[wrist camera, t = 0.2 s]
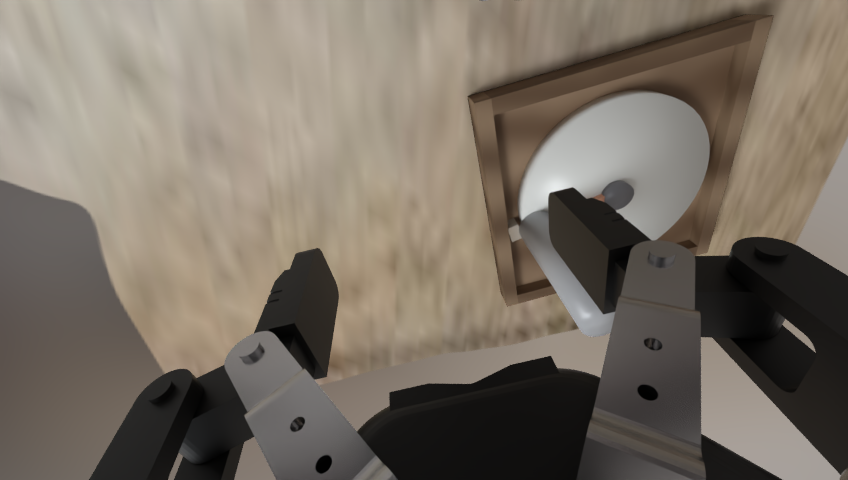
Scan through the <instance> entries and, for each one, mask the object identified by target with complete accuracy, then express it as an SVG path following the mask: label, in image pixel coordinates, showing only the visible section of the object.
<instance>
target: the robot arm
mask: <svg viewBox="0 0 848 480" xmlns="http://www.w3.org/2000/svg"><path fill="white" fill-rule="evenodd" d="M548 215H549V236H550V240H551V243H552V245H553V247H554V249H555V250H556V252H557V253H558V254H559V256H560V257H561V258H562V260H563V261H564V262H565V264H566V265H567V266H568V268H569V269H570V271H571V272H572V273H573V275H574V276H575V277H576V279H577V280H578V281H579V283H580V284H581V285H582V287H583V288H584V289H585V291H586V292H587V293H588V295H589V296H590V297H591V299H592V300H593V301H594V303H595V304H596V305H597V307H598V308H599V309H600V311H601V312H602V313H603V314H608V313H612V312H615V315H614V320H613V324H612V329H611V333H610V338H609V343H608V347H607V351H606V356H605V361H604V365H603V370H602V374H601V378H600V377H597V376H595V375H592V374H589V373H585V372H581V371H577V370H571V369H560V368H559V369H558V368H557V367H556V365H555V363H554V361H553V359H552V357H551V356H548V357H544V358H540V359H535V360H531V361H526V362H522V363H518V364H513V365H510V366H508V367H506V368H504V369H502V370H500V371H498V372H496V373H494V374H492V375H490V376H488V377H486V378H484V379H482V380H479V381H477V382H475V383H472V384H425V385H420V386H416V387H412V388H407V389H402V390H398V391H394V392H390V406H389V407H387V408H385V409H384V410H382V411H380V412H379V413H377V414H376V415H374V416H373V417H372V418H371V419H369V420H368V421H367V422H366V423H365V424H364V425H363V426H362V427H361V428H360V429H359V430H358V431H356V430H355V429H354V428H353V427H352V426H351V424H350V423H349V422H348V421H347V419H346V418H345V417H344V416H343V415H342V413H341V412H340V411H339V410H338V408H337V407H336V406H335V405H334V403H333V402H332V401H331V400H330V398H329V397H328V396H327V395H326V394H325V392H324V391H323V390H322V389H321V388H320V386H319V385H318V384H317V383H316V381H315V379H319V378H324V377H327V371H328V365H329V358H330V352H331V345H332V339H333V332H334V326H335V319H336V313H337V306H338V299H339V294H338V288H337V284H336V281H335V279H334V277H333V275H332V273H331V271H330V268H329V266H328V264H327V262H326V260H325V258H324V256H323V253H322V252H321V250H320V249H319V248H316V249H312V250H308V251H303V252H299V253H296V254H295V257H294V260H293V262H292V265H291V268H290V269H289V270H285V271H284V272H283V273H282V274H281V275H280V276H279V278H278V279H277V280H276V281H275V283H274V285H273V288H272V290H271V295H269V297H268V300H267V304H266V305H265V307H264V310H263V312H262V315H261V317H260V320H259V322H258V325H257V327H256V330H255V332H254V334H251V335H249V336H247V337H246V338H244V339H243V340H241V341H240V342H239V343H237V344H236V345H235V346H234V347H233V348H232V349H231V351H230V352H229V353H228V355H227V357H226V359H225V363H224V365H223V366H221V367H219V368H217V369H215V370H213V371H211V372H209V373H207V374H204V375H202V376H200V377H198V378H196V377H195V376H194V375H193V374H192V373H191V372H190V371H189V370H187V369H177V370H174V371H171V372H168V373H166V374H164V375H162V376H161V377H159V378H158V379H156V380H155V381H153V382H152V383H151V384H150V385H149V386H147V387H146V388H145V389H144V390H143V392H142V393H141V394H140V395H139V396H138V398H137V399H136V401H135V402H134V404H133V406H132V408H131V409H130V411H129V413H128V415H127V416H126V418H125V420H124V421H123V423H122V425H121V426H120V428H119V430H118V431H117V433H116V435H115V436H114V438H113V440H112V442H111V443H110V445H109V447H108V448H107V450H106V452H105V454H104V455H103V457H102V459H101V460H100V462H99V464H98V465H97V467H96V469H95V471H94V472H93V474H92V476H91V477H90V479H89V480H168V477H169V474H170V472H171V469H172V467H173V465H174V462H175V460H176V457H177V455H178V453H180V454H181V455H183V458H182V461H181V464H180V466H179V468H178V471H177V473H176V476H175V479H174V480H234V477H235V474H236V470H237V466H238V463H239V459H240V455H241V452H242V448H243V444H244V442H245V441H247V440H249V439H251V438H252V437H255V439H256V440H257V442H258V445H259V446H260V448H261V450H262V452H263V454H264V456H265V458H266V460H267V462H268V464H269V466H270V468H271V470H272V472H273V474H274V476H275V478H276V480H782V479H780V478H779V477H777V476H775V475H773V474H771V473H770V472H768V471H766V470H764V469H763V468H761V467H759V466H757V465H755V464H754V463H752V462H750V461H748V460H747V459H745V458H743V457H741V456H739V455H738V454H736V453H734V452H733V451H731V450H729V449H727V448H725V447H724V446H722V445H720V444H718V443H717V442H715V441H713V440H711V439H709V438H708V437H706V436H704V435H702V434H701V337H712V338H713V339H714V340H715V341H716V342H717V343H718V344H719V345H720V346H721V347H722V348H723V349H724V351H725V352H726V353H727V354H728V355H729V356H730V357H731V358H732V359H733V360H734V361H735V362H736V363H737V364H738V366H739V367H740V368H741V369H742V370H743V371H744V372H745V373H746V374H747V375H748V376H749V377H750V378H751V379H752V381H753V382H754V383H755V384H757V386H758V387H759V388H760V389H761V390H762V391H763V392H764V393H765V394H766V395H767V397H768V398H769V399H770V400H771V401H772V402H773V403H774V404H775V405H776V406H777V407H778V408H779V409H780V410H781V412H782V413H783V414H784V415H785V416H786V417H787V418H788V419H789V420H790V421H791V422H792V423H793V424H794V425H795V427H796V428H797V429H798V430H799V431H800V432H801V433H802V434H803V435H804V436H805V437H806V438H807V439H808V440H809V441H810V443H812V445H813V446H814V447H815V448H816V449H817V450H818V451H819V452H820V453H821V454H822V455H823V456H824V457H825V459H826V460H827V461H828V462H829V463H830V464H831V465H832V466H833V467H834V468H835V469H836V470H837V471H838V473H839V474H840V475H841V477H840V480H848V276H847V275H846V274H844V273H842V272H841V271H839V270H837V269H836V268H834V267H832V266H831V265H829V264H827V263H826V262H824V261H822V260H821V259H819V258H817V257H815V256H814V255H812V254H811V253H809V252H807V251H805V250H804V249H802V248H801V247H799V246H796V245H794V244H792V243H789V242H786V241H783V240H779V239H774V238H767V237H750V238H744V239H741V240H739V241H737V242H735V243H734V244H733V246H732V249H731V252H730V255H729V256H694V255H693V254H692V252H691V251H689V250H688V249H687V248H685V247H683V246H681V245H679V244H676V243H673V242H669V241H661V240H651V239H650V238H648V237H647V236H646V235H645V234H643V233H642V232H641V231H640V230H639V229H637V228H636V227H635V226H634V225H633V224H631V223H630V222H629V221H628V220H627V219H626V220H625V219H624V217H623V216H622V215H621V214H619V213H617V212H616V210H614V209H613V208H612V207H611V206H610V205H608V204H607V203H605V202H603V201H600V200H597V199H595V198H588V199H586V198H585V197H584V196H583V195H582V194H581V193H580V192H578V191H577V190H576V189H575V188H573V187H571V188H567V189H563V190H559V191H555V192H551V193H550V194H549V196H548ZM785 319H787V320H788V321H789V322H790V323H792V324H793V325H794V326H795V327H797V328H798V329H799V330H800V331H801V332H803V333H804V334H805V335H806V336H807V337H808V338H809V339H810V341H811V342H812V343H813V345H814V348H815V351H816V353H815V352H814V351H813V350H811V349H810V348H809V347H808V346H807V345H805V344H804V343H803V342H802V341H801V340H799V339H798V338H797V337H796V336H795V335H793V334H792V333H791V332H790V331H789V330H787V329H786V328H785V327H784V326H783V325H782V324H783V322H784V320H785Z"/></svg>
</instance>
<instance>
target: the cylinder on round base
mask: <svg viewBox="0 0 848 480" xmlns="http://www.w3.org/2000/svg"><path fill="white" fill-rule="evenodd" d="M709 153H710V144H709V137H708V132H707V129H706V126H705V124H704V122H703V120H702V119H701V117H700V115H699V114H698V113H697V112H696V111H695V110H694V109H693V108H692V107H691V106H689V105H688V104H686V103H685V102H683V101H681V100H679V99H677V98H675V97H672V96H668V95H665V94H662V93H658V92H654V91H650V90H627V91H621V92H616V93H612V94H609V95H606V96H603V97H600V98H597V99H595V100H593V101H591V102H589V103H587V104H585V105H583V106H582V107H580V108H579V109H577V110H575V111H574V112H572V113H571V114H570V115H568V116H567V117H566V118H564V119H563V120H562V121H561V122H559V123H558V124H557V125H556V126H555V127H554V128H553V129H552V130H551V131H550V132H549V133H548V134H547V136H546V137H545V138H544V139H543V140H542V142H541V143H540V144H539V145H538V147H537V148H536V150H535V151H534V153H533V154H532V156H531V158H530V160H529V162H528V164H527V166H526V168H525V170H524V173H523V175H522V178H521V182H520V186H519V190H518V199H517V206H518V215H519V220H520V226H519V234H520V236H521V238H522V239H523V241H524V242H525V244H526V245H527V247H528V249H529V250H530V252H531V253H532V255H533V256H534V258H535V260H536V261H537V263H538V264H539V266H540V267H541V269H542V271H543V272H544V274H545V275H546V277H547V278H548V280H549V282H550V283H551V285H552V286H553V288H554V289H555V291H556V293H557V294H558V296H559V297H560V299H561V300H562V302H563V304H564V305H565V307H566V308H567V310H568V311H569V313H570V314H571V316H572V318H573V319H574V321H575V322H576V324H577V325H578V327H579V329H580V330H581V332H582V333H583V334H585V335H588V336H593V337H596V336H603V335H606V334H609V333H611V329H612V324H613V320H614V315H615V312H612V313H608V314H603V313H602V312H601V311H600V309H599V308H598V307H597V305H596V304H595V303H594V301H593V300H592V299H591V297H590V296H589V295H588V293H587V292H586V291H585V289H584V288H583V287H582V285H581V284H580V283H579V281H578V280H577V279H576V277H575V276H574V275H573V273H572V272H571V271H570V269H569V268H568V266H567V265H566V264H565V262H564V261H563V260H562V258H561V257H560V256H559V254H558V253H557V252H556V250H555V249H554V247H553V245H552V243H551V240H550V236H549V215H548V196H549V194H550V193H551V192H555V191H559V190H563V189H567V188H571V187H573V188H575V189H576V190H577V191H578V192H580V193H581V194H582V195H583V196H584V197H585V198H586V199H588V198H595V199H597V200H600V201H603V202H605V203H607V204H608V205H610V206H611V207H612V208H613V209H614V210H616V212H617V213H619V214H621V215H622V216H623V217H624V219H625V220H626V219H627V220H628V221H629V222H630V223H631V224H633V225H634V226H635V227H636V228H637V229H639V230H640V231H641V232H642V233H643V234H645V235H646V236H647V237H648V238H650V239H651V240H657V239H658V238H659V237H661V236H662V235H663V234H664V233H665V232H666V231H668V230H669V229H670V228H671V227H672V226H673V225H674V224H675V223H676V222H677V221H678V220H679V218H680V217H681V216H682V215H683V214H684V212H685V211H686V210H687V209H688V207H689V206H690V204H691V203H692V201H693V200H694V198H695V196H696V194H697V193H698V191H699V189H700V187H701V184H702V182H703V180H704V177H705V174H706V171H707V167H708V162H709Z"/></svg>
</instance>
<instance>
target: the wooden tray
mask: <svg viewBox="0 0 848 480" xmlns="http://www.w3.org/2000/svg"><path fill="white" fill-rule="evenodd" d="M773 17H774V15H742V16H739V17H735V18H732V19H729V20H725V21H722V22H718V23H715V24H712V25H708V26H705V27H701V28H698V29H695V30H691V31H688V32H685V33H681V34H678V35H674V36H671V37H668V38H664V39H661V40H657V41H654V42H651V43H647V44H644V45H640V46H637V47H634V48H630V49H627V50H624V51H620V52H617V53H613V54H610V55H607V56H603V57H600V58H596V59H593V60H590V61H586V62H583V63H579V64H576V65H573V66H569V67H566V68H562V69H559V70H556V71H552V72H549V73H546V74H542V75H539V76H535V77H532V78H529V79H525V80H522V81H518V82H515V83H512V84H508V85H505V86H501V87H498V88H495V89H491V90H488V91H484V92H481V93H478V94H474V95H471V96H468V102H469V108H470V114H471V120H472V125H473V131H474V137H475V143H476V149H477V155H478V161H479V167H480V173H481V179H482V184H483V190H484V196H485V202H486V208H487V214H488V220H489V226H490V232H491V238H492V243H493V249H494V255H495V261H496V267H497V273H498V279H499V285H500V291H501V294H502V296H503V298H504V301H505V303H506V305H507V306H511V305H515V304H518V303H522V302H526V301H529V300H533V299H537V298H540V297H544V296H548V295H552V294H555V293H556V291H555V289H554V288H553V286H552V285H551V283H550V282H549V280H548V278H547V277H546V275H545V274H544V272H543V271H542V269H541V267H540V266H539V264H538V263H537V261H536V260H535V258H534V256H533V255H532V253H531V252H530V250H529V249H528V247H527V245H526V244H525V242H524V241H523V239H522V238H521V236H520V234H519V226H520V220H519V215H518V206H517V199H518V190H519V186H520V182H521V178H522V175H523V173H524V170H525V168H526V166H527V164H528V162H529V160H530V158H531V156H532V154H533V153H534V151H535V150H536V148H537V147H538V145H539V144H540V143H541V142H542V140H543V139H544V138H545V137H546V136H547V134H548V133H549V132H550V131H551V130H552V129H553V128H554V127H555V126H556V125H557V124H558V123H559V122H561V121H562V120H563V119H564V118H566V117H567V116H568V115H570V114H571V113H572V112H574V111H575V110H577V109H579V108H580V107H582V106H583V105H585V104H587V103H589V102H591V101H593V100H595V99H597V98H600V97H603V96H606V95H609V94H612V93H616V92H621V91H627V90H650V91H654V92H658V93H662V94H665V95H668V96H672V97H675V98H677V99H679V100H681V101H683V102H685V103H686V104H688V105H689V106H691V107H692V108H693V109H694V110H695V111H696V112H697V113H698V114H699V115H700V117H701V119H702V120H703V122H704V124H705V126H706V129H707V132H708V137H709V144H710V153H709V162H708V167H707V171H706V174H705V177H704V180H703V182H702V184H701V187H700V189H699V191H698V193H697V194H696V196H695V198H694V200H693V201H692V203H691V204H690V206H689V207H688V209H687V210H686V211H685V212H684V214H683V215H682V216H681V217H680V218H679V220H678V221H677V222H676V223H675V224H674V225H673V226H672V227H671V228H670V229H669V230H668V231H666V232H665V233H664V234H663V235H662V236H661V237H659V238H658V239H657V240H661V241H669V242H673V243H676V244H679V245H681V246H683V247H685V248H687V249H688V250H689V251H691V252H692V254H693V255H694V256H696V255H700V254H703V253H707V252H708V249H709V245H710V242H711V238H712V234H713V231H714V227H715V224H716V220H717V217H718V213H719V209H720V206H721V202H722V199H723V195H724V192H725V188H726V184H727V181H728V177H729V174H730V170H731V167H732V163H733V159H734V156H735V152H736V149H737V145H738V142H739V138H740V134H741V131H742V127H743V124H744V120H745V117H746V113H747V109H748V106H749V102H750V99H751V95H752V92H753V88H754V84H755V81H756V77H757V74H758V70H759V67H760V63H761V59H762V56H763V52H764V49H765V45H766V42H767V38H768V34H769V31H770V27H771V24H772V20H773Z"/></svg>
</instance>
